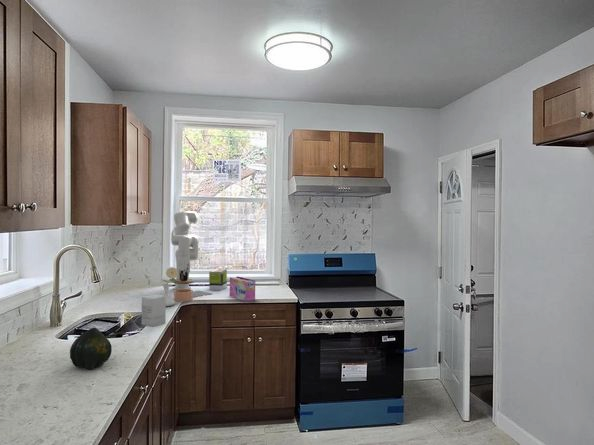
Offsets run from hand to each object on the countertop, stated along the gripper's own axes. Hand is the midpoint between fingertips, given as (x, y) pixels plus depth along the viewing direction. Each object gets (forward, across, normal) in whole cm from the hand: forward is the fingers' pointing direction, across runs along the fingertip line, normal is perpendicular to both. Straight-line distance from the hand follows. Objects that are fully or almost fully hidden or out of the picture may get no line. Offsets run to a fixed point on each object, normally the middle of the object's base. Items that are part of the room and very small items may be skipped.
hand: (183, 279), depth 283 cm
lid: (+2, 0, 0) cm, 2 cm away
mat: (+14, -8, +17) cm, 23 cm away
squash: (+11, +79, -95) cm, 124 cm away
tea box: (+15, -15, +43) cm, 48 cm away
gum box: (+14, +25, +32) cm, 43 cm away
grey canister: (+12, +42, -47) cm, 64 cm away
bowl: (+13, +1, 0) cm, 13 cm away
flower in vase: (+13, +10, -18) cm, 25 cm away
